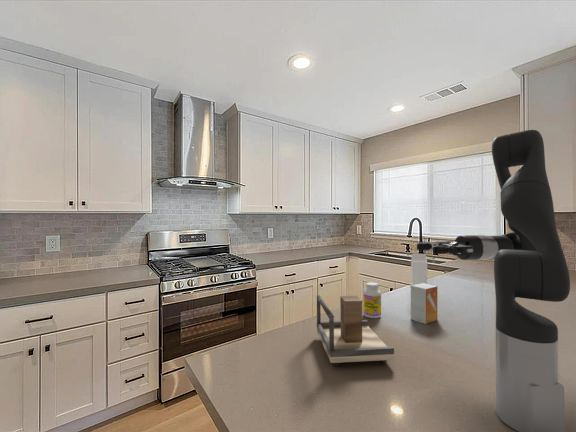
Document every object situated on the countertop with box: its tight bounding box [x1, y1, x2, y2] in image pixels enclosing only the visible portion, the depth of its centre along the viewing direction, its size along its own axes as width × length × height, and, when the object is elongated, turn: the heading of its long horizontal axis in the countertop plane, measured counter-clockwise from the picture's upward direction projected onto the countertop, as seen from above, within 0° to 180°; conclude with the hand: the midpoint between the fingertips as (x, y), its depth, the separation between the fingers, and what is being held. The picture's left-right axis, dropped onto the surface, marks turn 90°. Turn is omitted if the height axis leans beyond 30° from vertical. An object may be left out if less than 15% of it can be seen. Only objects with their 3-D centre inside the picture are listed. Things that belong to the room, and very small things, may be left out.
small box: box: [410, 283, 439, 325], centre depth 107 cm, size 8×6×13 cm
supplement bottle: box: [363, 281, 382, 319], centre depth 112 cm, size 7×7×13 cm
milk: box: [410, 253, 428, 287], centre depth 129 cm, size 6×6×22 cm
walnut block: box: [339, 295, 363, 343], centre depth 84 cm, size 5×5×12 cm
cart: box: [316, 294, 395, 367], centre depth 84 cm, size 20×17×14 cm
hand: (425, 248), depth 85 cm, fingers open, 8 cm apart
